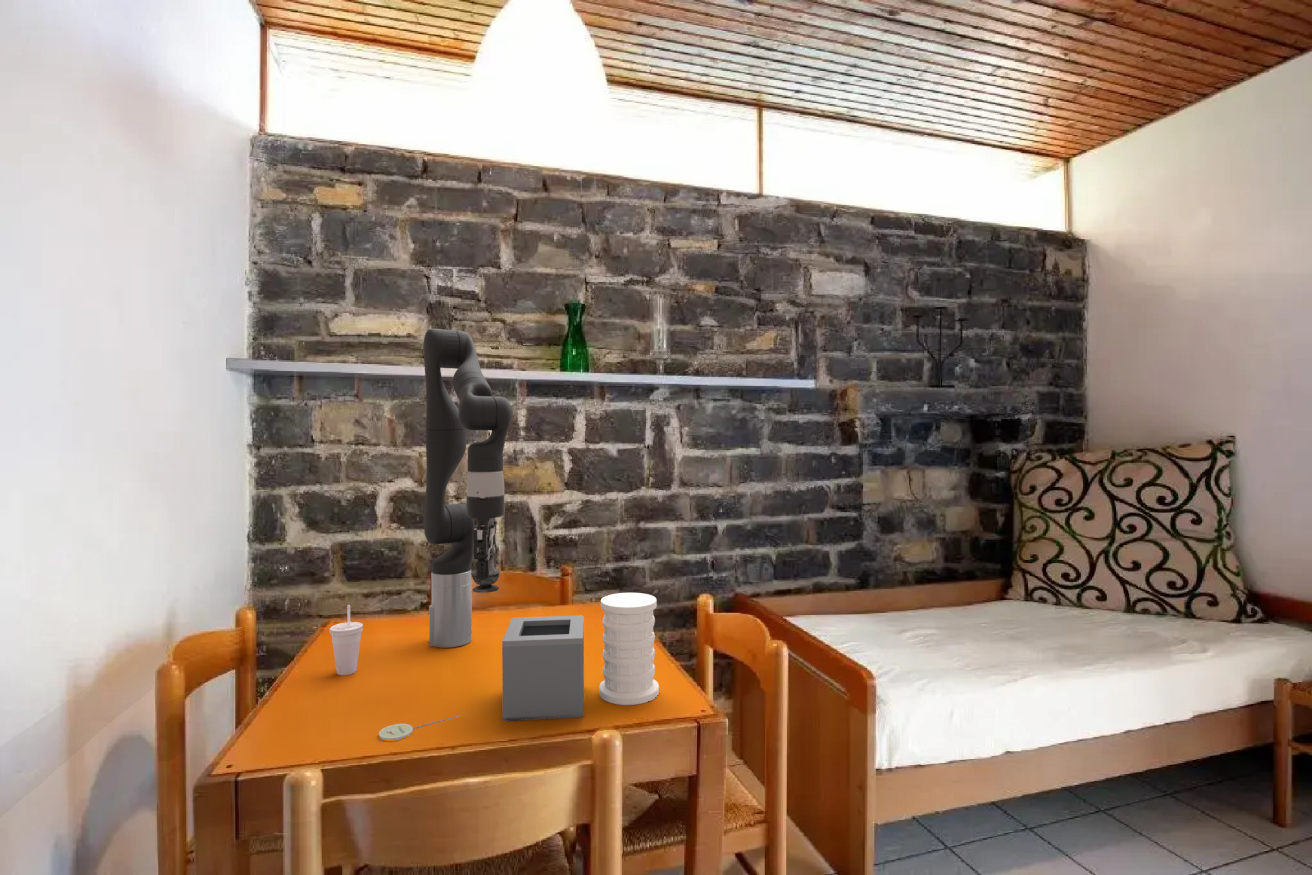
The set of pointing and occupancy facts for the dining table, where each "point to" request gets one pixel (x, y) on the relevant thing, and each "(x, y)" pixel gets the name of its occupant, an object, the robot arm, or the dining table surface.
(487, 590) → the salt shaker
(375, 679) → the dining table surface
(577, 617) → the box
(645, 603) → the decorative container
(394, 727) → the sign
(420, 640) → the dining table surface
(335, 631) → the smoothie
